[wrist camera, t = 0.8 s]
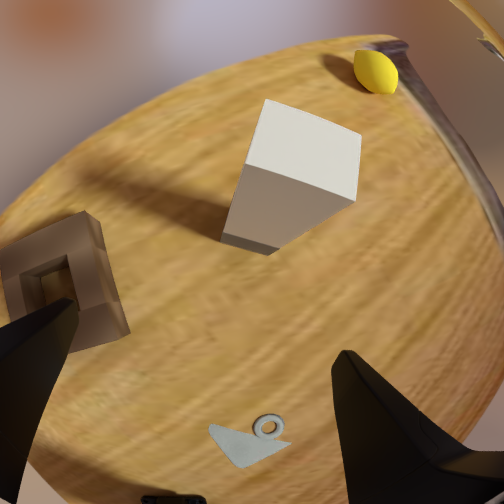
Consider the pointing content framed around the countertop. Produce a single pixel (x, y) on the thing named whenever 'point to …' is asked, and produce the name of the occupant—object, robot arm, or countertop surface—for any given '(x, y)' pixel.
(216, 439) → the grey triangular pendant
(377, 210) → the countertop surface
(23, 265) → the post base
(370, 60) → the lemon
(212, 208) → the countertop surface
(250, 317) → the countertop surface
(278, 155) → the rail post
